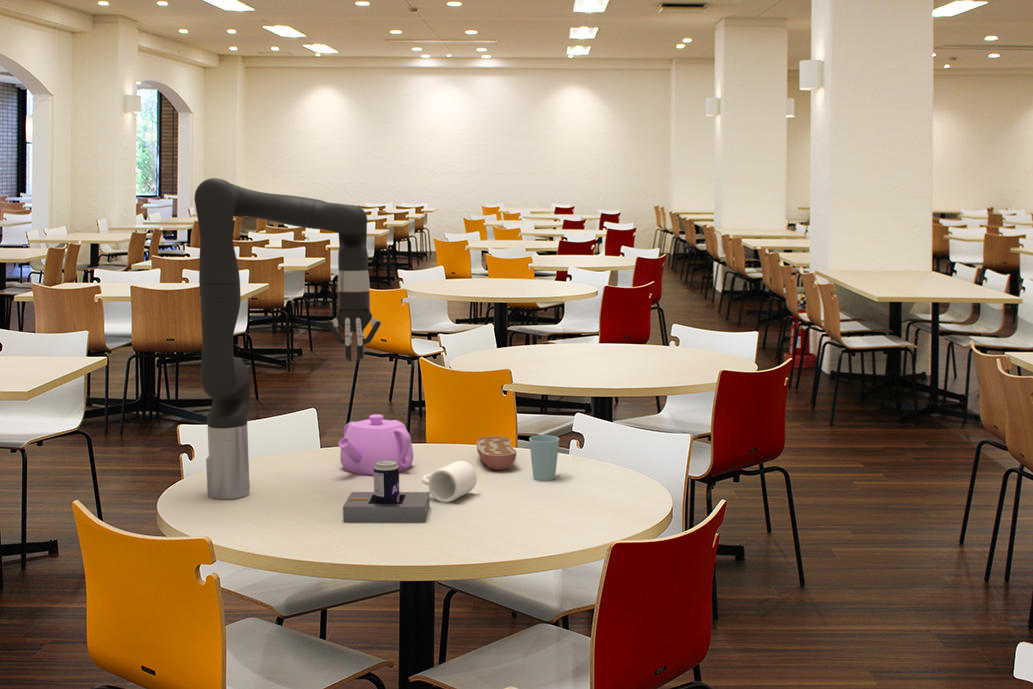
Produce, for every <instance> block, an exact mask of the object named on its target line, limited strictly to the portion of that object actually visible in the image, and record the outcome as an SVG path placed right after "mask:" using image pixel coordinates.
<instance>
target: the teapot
mask: <svg viewBox="0 0 1033 689" xmlns="http://www.w3.org/2000/svg"><path fill="white" fill-rule="evenodd" d="M411 439H412V438H411V434H410V433H409V431H408V429H407V428H406V425H405V424H404V423H403V422H401V421H400V420H398V419H397V420H396V419H393V420H391V419H384V415H383V414H375V413H374V414H371V415H369V416H368V419H364V420H359V421H350V422H348V423H347V424H345V426H344V427H343V437H342V438H341V439H340V440H339V441H338V444H337V445H338V447H339V449H340V454H339V455H340V456H339V458H340V463H341V465H342V467H343V469H344V470H345V471H347V472H350V473H354V474H359V475H365V476H373V477H374V467H375V463H376V462H377V461H381V460H394V461H397V465H398V467H399V473H401V472H403V471H406V470H408V469H409V468H410V467H411V466H412V464H413V461H414V450H413V449H414V448H413V443H412V440H411Z"/></svg>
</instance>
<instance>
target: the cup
mask: <svg viewBox="0 0 1033 689" xmlns="http://www.w3.org/2000/svg"><path fill="white" fill-rule="evenodd" d="M528 439H529V448H530V449H529V450H530V458H531V468H532V470H531V471H532V477H533V480H535V481H539V482H548V481H554V480H555V479H556V472H557V464H558V454H559V445H560V438H559V436H555V435H547V434H546V435H545V434H542V435H534V436H530V437H529V438H528Z"/></svg>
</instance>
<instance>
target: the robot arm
mask: <svg viewBox="0 0 1033 689" xmlns="http://www.w3.org/2000/svg"><path fill="white" fill-rule="evenodd" d="M194 206H195V211H196V216H197V218H196V219H197V223H198V231H199V258H198V259H199V262H198V263H199V265H198V273H199V274H198V281H199V282H198V283H199V285H198V286H199V287H198V288H199V301H200V321H201V335H202V336H201V337H202V338H201V339H202V340H201V342H202V344H201V345H202V346H201V347H202V348H201V362H200V363H201V364H200V384H201V387H202V389H203V392H204V393H205V394H207V396H209V397H210V398H211V399H212V403H211V408H210V409H209V412H208V413H207V416H206V417H207V422H206V424H207V443H208V444H207V446H208V447H207V448H208V449H207V450H208V457H206V459H205V463H206V466H205V467H206V468H205V469H206V487H207V488H206V489H207V491H206V493H207V498H210V499H211V498H213V499H218V500H233V499H241V498H244V497H247V496H249V495H250V493H251V492H250V488H251V487H250V461H249V460H250V459H249V458H250V457H249V436H248V435H249V434H248V433H249V431H248V416H249V412H250V406H251V382H250V380H251V379H250V372H249V369H248V366H247V365H246V363H245V362H244V361H243V360H242V359H240V358H239V357H236V356H234V346H233V345H234V334H235V329H236V325H237V322H238V318H239V314H240V308H241V301H242V300H241V297H242V296H241V295H242V294H241V280H240V278H241V277H240V271H239V265H238V259H237V254H236V251H235V250H236V249H235V246H234V238H233V237H234V236H233V229H234V228H233V226H234V225H233V224H234V223H233V222H234V218H235V217H238V218H239V217H244V218H252V219H253V218H255V219H260V220H261V219H262V220H265V221H266V220H267V221H270V222H275V223H279V224H284V225H288V226H294V227H299V228H305V229H312V230H325V231H329V232H331V233H332V232H334V233H338V245H339V246H338V254H337V255H338V256H337V257H338V258H337V262H338V263H337V264H338V265H337V266H338V268H337V269H338V274H337V309H338V310H337V313H336V317H335V318H333V319H332V320H329V321H327V322H326V325H327V327H328V328H329V330H330V332H331V333H332V335H333V336H334V338H335V339H336V341H337V343H339V344H342V345H344V346H345V358H346V360H347V361H348V362H353V358H354V357H353V344H352V342H353V339H352V337H353V332H356V336H357V345H356V362H361V361H362V360H363V359H364V357H365V351H364V350H365V345H366V344H369V343H372V340H373V339H374V337H375V335H376V333H377V331H378V330H379V329H380V327H381V325H382V321H381V320H378V319H376V318H375V317H373V314H372V313H371V306H370V305H371V303H370V299H371V298H370V297H371V295H370V294H371V293H370V290H371V289H370V288H371V284H370V277H369V254H368V249H367V248H368V247H367V241H368V240H367V238H368V236H367V234H368V216H367V213H366V212H365V210H364V209H363V208H362V207H360V206H359V205H354V204H346V203H338V202H337V203H336V202H335V203H334V202H328V201H324V200H321V199H317V198H313V197H312V198H310V197H307V196H306V197H304V196H299V195H298V196H297V195H290V194H289V195H288V194H280V193H279V194H278V193H270V192H269V193H268V192H262V191H257V190H252V189H249V188H245V187H243V186H239V185H236V184H233V183H230V182H229V181H227V180H225V179H223V178H217V177H213V178H212V177H210V178H207V179H205V180H203V181H202V182H201V183H199V185H198V186H197V187H196V189H195V193H194ZM369 323H370V328H371V330H370V332H369V333H368V334H367V336H366V337H365V329H366V328H367V326H368V325H369ZM339 325H340V326H341V327H342V328H343V329H344V336H343V335H342V332H340V330H339V328H338V327H339Z"/></svg>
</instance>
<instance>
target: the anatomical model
mask: <svg viewBox="0 0 1033 689" xmlns="http://www.w3.org/2000/svg"><path fill="white" fill-rule="evenodd" d="M511 442H512V440H511V438H510V437H505V436H500V435H499V436H496V435H493V436H491V435H490V436H484V437H483V436H482V437H480V438H478V439H477V441H476V451H477V453H478V456H479V458H480V460H481V461H482V462H483V463H484V464H485V465H487V466H488V467H489V468H490V469H491V470H495V471H504V470H506V469H509V468H510V467H511V466H512V465H513V464H514V463H515V461H516V458H517V450H516V449H515V448H513V446H512V445H511Z"/></svg>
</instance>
